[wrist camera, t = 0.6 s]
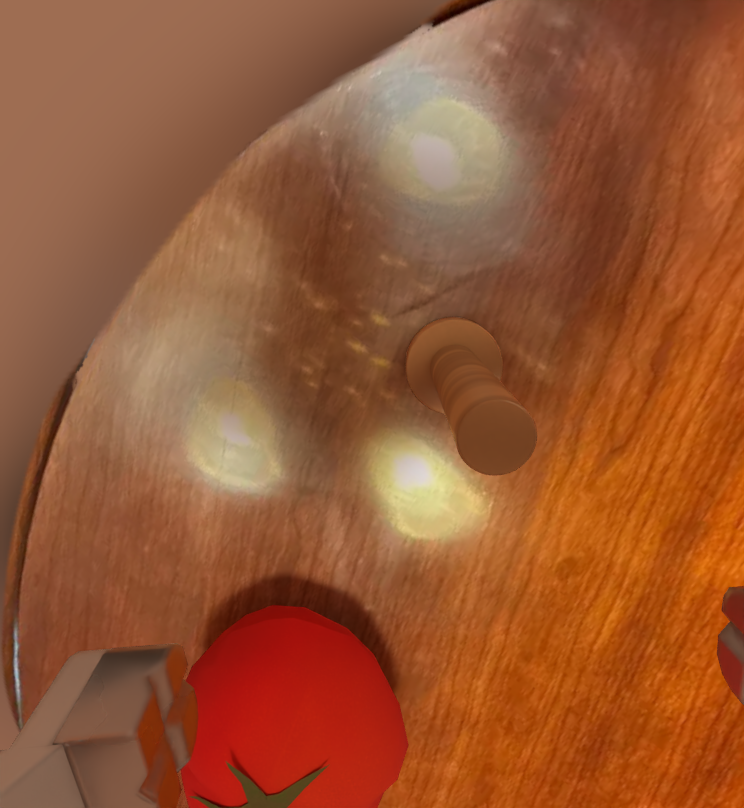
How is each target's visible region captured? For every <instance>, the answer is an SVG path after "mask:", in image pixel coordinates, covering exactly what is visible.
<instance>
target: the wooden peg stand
mask: <svg viewBox="0 0 744 808" xmlns="http://www.w3.org/2000/svg"><path fill="white" fill-rule="evenodd" d="M405 368H406V375H407V380H408V383H409V386H410V388H411V390H412V392H413V394H414V395H415V397H416V398H417V399H418V400H419V401H420V402H421V403H422V404H423V405H425V406H426V407H428V408H429V409H431V410H434V411H436V412H439V413H443V414H445V416H446V418H447V421H448V424H449V427H450V430H451V432H452V435H453V438H454V441H455V443H456V446H457V449H458V452H459V454H460V456H461V458H462V459H463V461H464V462H465V463H466V464H467V465H468V466H469V467H471V468H472V469H474V470H475V471H477V472H479V473H483V474H486V475H503V474H507V473H510V472H513V471H515V470H517V469H518V468H520V467H521V466H522V465H524V464H525V463H526V462H527V460H528V459H529V458H530V457H531V455H532V453H533V451H534V449H535V446H536V441H537V429H536V425H535V422H534V420H533V418H532V416H531V415H530V413H529V412H528V411H527V410H526V409H525V408H524V407H523V406H522V404H521V403H520V402H519V401H518V400H517V399H516V398H515V397H514V396H513V395H512V394H511V393H510V391H509V390H508V389H507V388H506V387H505V386H504V385H503V384H502V383H501V382H500V380H501V377H502V371H503V360H502V355H501V351H500V348H499V346H498V344H497V342H496V341H495V339H494V338H493V337H492V335H491V334H490V333H489V332H488V331H486V330H485V329H484V328H482V327H481V326H480V325H478V324H477V323H475V322H473V321H471V320H468V319H465V318H460V317H446V318H441V319H438V320H435V321H433V322H431V323H429V324H427V325H426V326H424V327H423V328H422V329H421V330H420V331H419V332H418V333H417V334H416V335H415V336H414V338H413V339H412V341H411V343H410V345H409V347H408V350H407V354H406V360H405Z"/></svg>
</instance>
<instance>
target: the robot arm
mask: <svg viewBox="0 0 744 808" xmlns="http://www.w3.org/2000/svg"><path fill="white" fill-rule="evenodd" d="M722 612H723V613H724V614H725V615H726V617H727V618H728V619H729V621H730V622H729V623H728V625H727V626H726V627H725V628H724V629H723V630H722V631H721V633H720V634H719V635H718V647H717V656H718V660H719V663H720V667H721V671H722V674H723V676H724V678H725V680H726V682H727V683H728V685H729V687H730V689H731V690H732V691H733V693H734V694H735V695H736V697H737V698H738V699H739V700H740V702H741V703H742V704H744V586H738V587H729V589H728V590H727V592H726V593H725V595H724V597H723V604H722ZM187 666H188V662H187V659H186V655H185V652H184V649H183V646H181V645H179V644H177V643H174V644H161V645H148V646H135V647H122V648H112V649H103V650H91V651H78V652H77V653H75V654H74V655H72V656H70V657H69V658H68V660H67V661H66V663H65V664H64V666H63V667H62V669H61V670H60V672H59V673H58V675H57V676H56V678H55V679H54V681H53V682H52V684H51V686H50V687H49V689H48V690H47V692H46V693H45V695H44V696H43V698H42V699H41V701H40V702H39V704H38V705H37V707H36V709H35V710H34V712H33V713H32V715H31V716H30V718H29V719H28V721H27V722H26V724H25V725H24V727H23V728H22V730H21V731H20V733H19V735H18V736H17V738H16V739H15V741H14V742H13V744H12V745H11V747H10V748H9V750H0V808H176V807H177V803H178V800H179V797H180V794H181V790H182V789H181V786H180V782H179V778H178V774H177V773H178V772H179V771H180V770H181V769H182V768H183V767H184V766H185V765H186V764H187V763H188V762H189V761H190V760H191V757H192V753H193V750H194V746H195V742H196V737H197V727H198V705H197V698H196V694H195V690H194V688H193V687H192V686H191V685H190V684H188V683H187V682H186V681H185V680H184V679H183V677H184V675H185V672H186V669H187Z"/></svg>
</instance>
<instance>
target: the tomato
mask: <svg viewBox="0 0 744 808" xmlns="http://www.w3.org/2000/svg"><path fill="white" fill-rule="evenodd" d="M186 682H187V683H188V684H190V685H191V686H192V687H193V688H194V690H195V694H196V698H197V705H198V727H197V737H196V742H195V746H194V750H193V753H192V757H191V760H190V761H189V762H188V763H187V764H186V765H185V766H184V767H183V768H182V769H181V775H182V781H183V786H184V790H185V794H186V798H187V802H188V806H189V808H377V807H378V805H379V803H380V800H381V798H382V795H383V793H384V792H385V791H386V790H387V789H388V788H389V787H390V786H391V785H392V784H393V783H394V782H395V781H396V780H397V779H398V776H399V773H400V770H401V767H402V764H403V761H404V757H405V754H406V751H407V748H408V741H407V736H406V732H405V727H404V723H403V718H402V714H401V709H400V705H399V703H398V701H397V699H396V697H395V695H394V693H393V691H392V689H391V687H390V685H389V683H388V681H387V679H386V677H385V675H384V673H383V671H382V670H381V668H380V666H379V664H378V662H377V660H376V658H375V656H374V654H373V653H372V652H371V651H370V650H369V649H368V648H367V647H366V646H365V645H364V644H363V643H362V642H361V641H360V640H359V639H358V638H357V637H356V636H355V635H354V634H353V633H352V632H351V631H350V630H349V629H348V628H346V627H344V626H342V625H340V624H338V623H336V622H334V621H332V620H330V619H328V618H326V617H324V616H322V615H320V614H318V613H316V612H314V611H312V610H310V609H308V608H306V607H295V606H281V605H271V606H269V607H266V608H263V609H261V610H258V611H255V612H253V613H250V614H247V615H245V616H243V617H242V618H241V619H240V620H238V621H237V622H236V623H235V624H233V625H232V626H231V627H229V628H228V629H226V630H225V631H223V632H222V634H221V635H220V636H219V637H218V638H217V639H216V640H215V642H214V643H213V644H212V645H211V646H210V647H209V648H208V650H207V651H206V652H205V653H204V654H203V655H202V656H201V657H200V659H199V660H198V661H197V662H196V663H195V664H194V665H193V667H192V668H191V671H190V673H189V675H188V677H187V679H186Z"/></svg>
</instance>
